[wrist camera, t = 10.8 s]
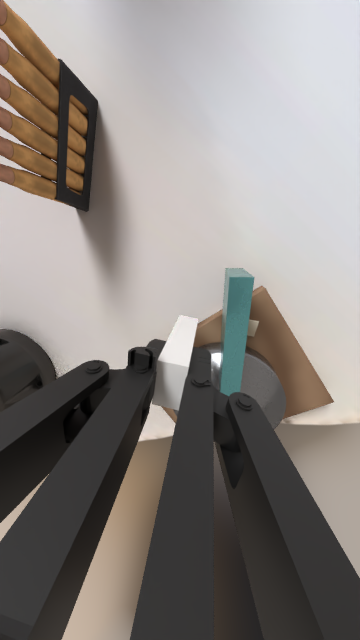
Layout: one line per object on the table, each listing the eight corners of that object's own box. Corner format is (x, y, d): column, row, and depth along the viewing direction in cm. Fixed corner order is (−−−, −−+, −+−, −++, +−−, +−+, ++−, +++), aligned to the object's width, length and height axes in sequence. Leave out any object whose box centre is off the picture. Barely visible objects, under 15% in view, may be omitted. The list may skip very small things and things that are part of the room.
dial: (269, 431, 28) (285, 487, 21) (175, 417, 30) (164, 464, 23) (304, 268, 19) (347, 278, 13) (171, 268, 22) (152, 275, 15)
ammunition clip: (88, 211, 24) (-22, 180, 13) (75, 207, 24) (-45, 172, 13) (97, 100, 20) (-51, -86, 9) (81, 95, 20) (-86, -95, 9)
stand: (197, 436, 34) (195, 448, 32) (134, 361, 31) (128, 369, 29) (326, 391, 27) (335, 403, 24) (261, 285, 23) (266, 289, 21)
